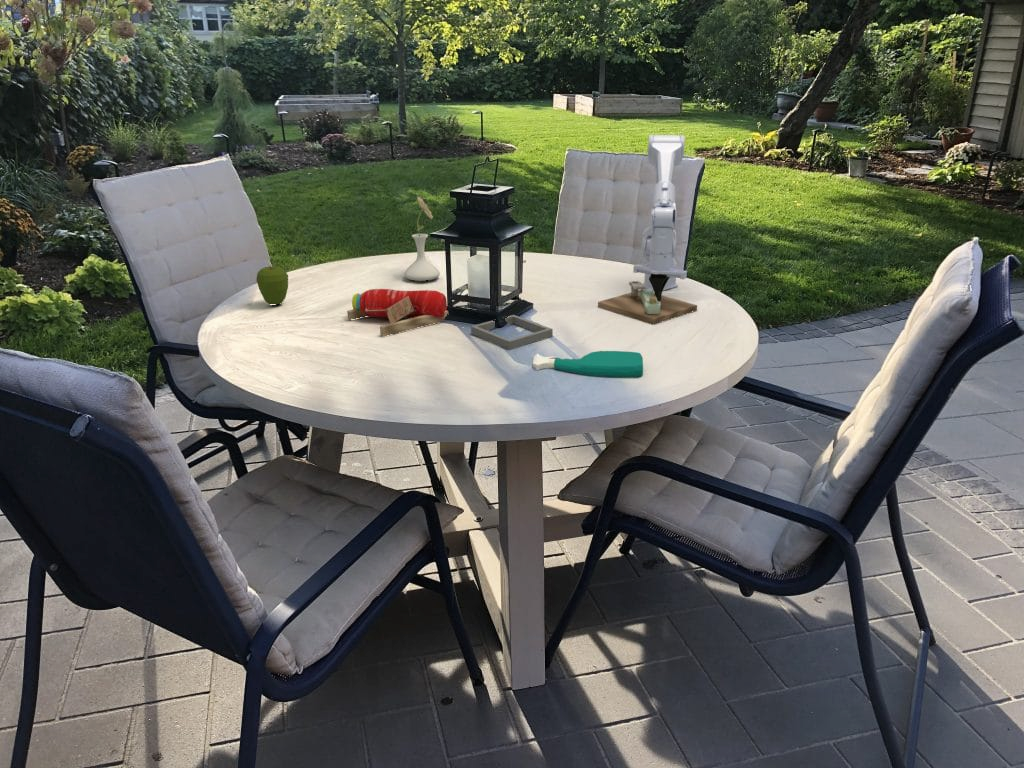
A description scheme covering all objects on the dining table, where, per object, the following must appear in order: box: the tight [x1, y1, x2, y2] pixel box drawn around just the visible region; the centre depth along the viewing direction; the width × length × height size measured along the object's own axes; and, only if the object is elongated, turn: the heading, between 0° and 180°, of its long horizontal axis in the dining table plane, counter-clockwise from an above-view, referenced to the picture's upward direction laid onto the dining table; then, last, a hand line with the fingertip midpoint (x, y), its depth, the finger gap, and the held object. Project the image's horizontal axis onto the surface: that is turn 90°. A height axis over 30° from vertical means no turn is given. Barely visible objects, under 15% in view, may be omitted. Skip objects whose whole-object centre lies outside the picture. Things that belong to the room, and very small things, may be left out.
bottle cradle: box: [346, 308, 449, 337], centre depth 205 cm, size 20×18×2 cm
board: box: [597, 280, 698, 325], centre depth 212 cm, size 18×20×6 cm
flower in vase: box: [403, 196, 441, 282], centre depth 238 cm, size 13×11×25 cm
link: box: [640, 289, 661, 314], centre depth 210 cm, size 14×4×2 cm, turn 179°
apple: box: [255, 265, 289, 305], centre depth 216 cm, size 9×8×12 cm
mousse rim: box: [470, 314, 554, 350], centre depth 194 cm, size 14×15×2 cm
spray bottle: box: [532, 350, 644, 378], centre depth 174 cm, size 3×11×24 cm
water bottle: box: [351, 288, 448, 324], centre depth 204 cm, size 12×8×25 cm
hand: (657, 301), depth 212 cm, fingers closed, pressing on link
